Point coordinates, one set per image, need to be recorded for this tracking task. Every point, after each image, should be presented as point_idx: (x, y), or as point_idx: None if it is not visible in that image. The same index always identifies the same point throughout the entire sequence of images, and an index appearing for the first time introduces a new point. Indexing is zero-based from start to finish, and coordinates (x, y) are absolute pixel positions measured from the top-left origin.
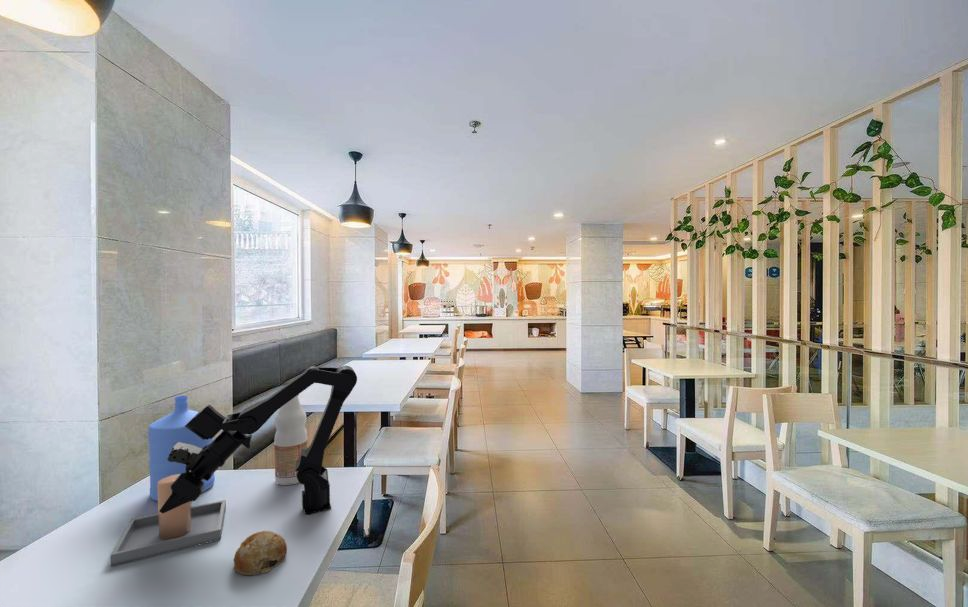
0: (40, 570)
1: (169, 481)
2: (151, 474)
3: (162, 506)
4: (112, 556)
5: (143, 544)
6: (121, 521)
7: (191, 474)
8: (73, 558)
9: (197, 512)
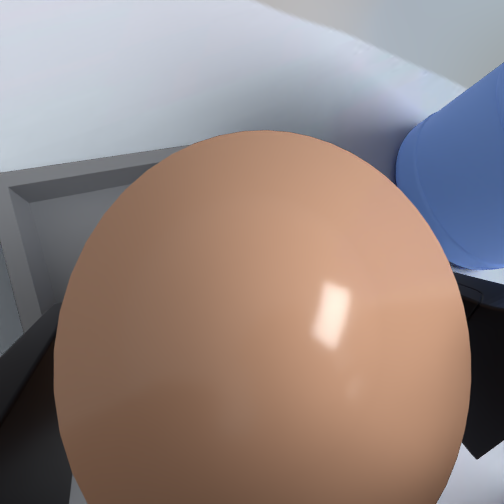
0: (67, 14)
1: (250, 286)
2: (488, 76)
3: (24, 335)
4: None
5: None
6: (304, 110)
7: (486, 357)
8: (116, 68)
9: None
